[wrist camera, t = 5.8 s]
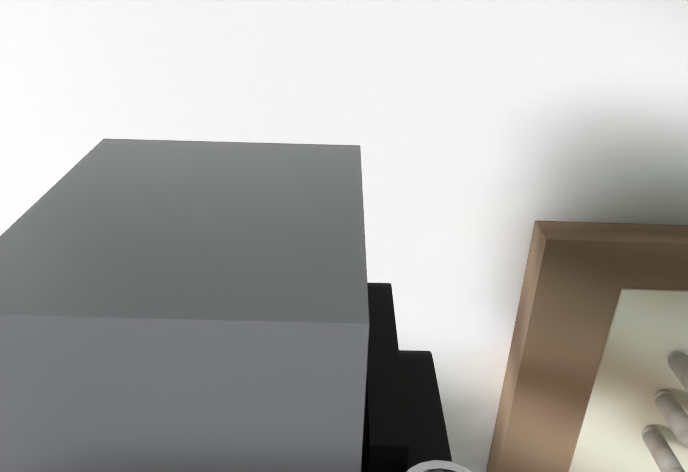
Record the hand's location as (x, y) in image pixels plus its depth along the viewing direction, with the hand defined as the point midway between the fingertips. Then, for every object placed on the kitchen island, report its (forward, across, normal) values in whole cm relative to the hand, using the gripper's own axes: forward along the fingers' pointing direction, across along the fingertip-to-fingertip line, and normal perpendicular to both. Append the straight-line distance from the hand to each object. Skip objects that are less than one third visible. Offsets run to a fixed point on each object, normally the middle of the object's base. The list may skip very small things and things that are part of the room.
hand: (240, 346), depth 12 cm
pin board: (+11, -15, +10) cm, 21 cm away
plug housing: (+1, 0, 0) cm, 1 cm away
